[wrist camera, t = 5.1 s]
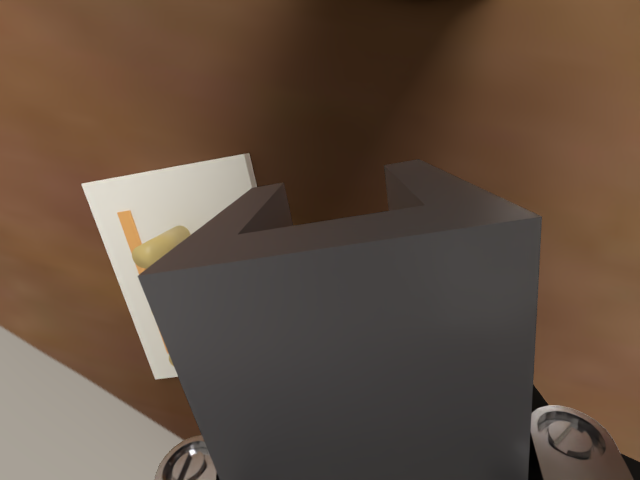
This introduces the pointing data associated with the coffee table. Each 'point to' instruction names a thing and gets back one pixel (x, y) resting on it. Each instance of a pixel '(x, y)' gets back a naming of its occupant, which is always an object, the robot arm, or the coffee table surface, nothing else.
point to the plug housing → (358, 334)
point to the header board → (160, 227)
